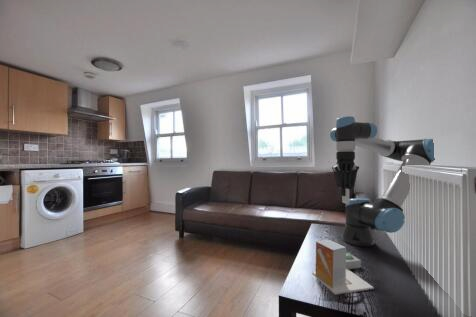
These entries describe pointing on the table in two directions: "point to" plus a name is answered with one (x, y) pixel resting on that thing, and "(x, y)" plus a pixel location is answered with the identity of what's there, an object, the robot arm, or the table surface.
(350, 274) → the sheet
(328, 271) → the small box
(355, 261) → the button box
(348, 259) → the button
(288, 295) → the table surface
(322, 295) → the table surface
